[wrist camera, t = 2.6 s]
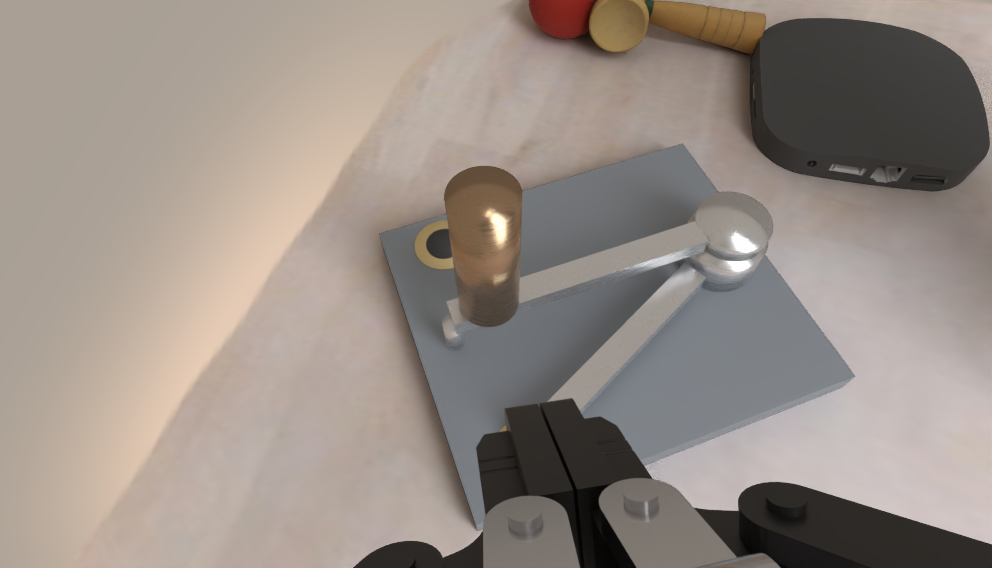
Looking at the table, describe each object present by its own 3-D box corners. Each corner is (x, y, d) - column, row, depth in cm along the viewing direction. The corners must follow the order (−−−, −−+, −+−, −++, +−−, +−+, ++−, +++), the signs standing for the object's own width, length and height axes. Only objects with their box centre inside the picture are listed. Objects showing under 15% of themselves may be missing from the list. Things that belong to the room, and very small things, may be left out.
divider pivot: (708, 218, 37) (720, 191, 35) (768, 263, 36) (784, 237, 33) (474, 407, 31) (471, 388, 29) (531, 473, 29) (533, 458, 27)
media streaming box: (938, 61, 48) (962, 27, 45) (978, 203, 40) (1009, 172, 38) (746, 40, 49) (759, 6, 47) (749, 172, 42) (765, 140, 39)
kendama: (739, 28, 52) (533, -18, 52) (777, -34, 46) (545, -87, 46) (734, 101, 49) (516, 53, 49) (774, 45, 43) (527, -10, 43)
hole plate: (677, 159, 42) (683, 141, 41) (842, 387, 33) (856, 374, 32) (383, 247, 38) (378, 232, 37) (477, 531, 29) (476, 524, 28)
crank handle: (728, 219, 37) (805, 63, 27) (766, 270, 35) (864, 122, 25) (435, 314, 33) (406, 176, 24) (458, 377, 31) (436, 253, 22)
